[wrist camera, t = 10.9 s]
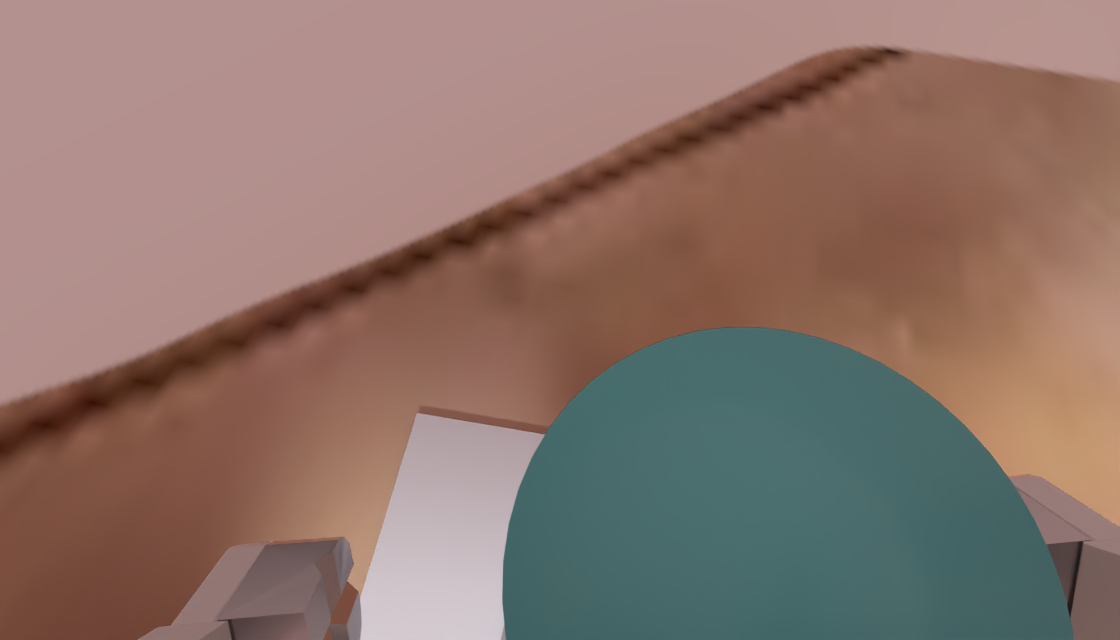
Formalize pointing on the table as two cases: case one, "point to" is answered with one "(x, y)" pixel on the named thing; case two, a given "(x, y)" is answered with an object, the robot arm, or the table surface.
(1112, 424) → the table surface
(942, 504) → the fat marker
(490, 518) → the drawing sheet
